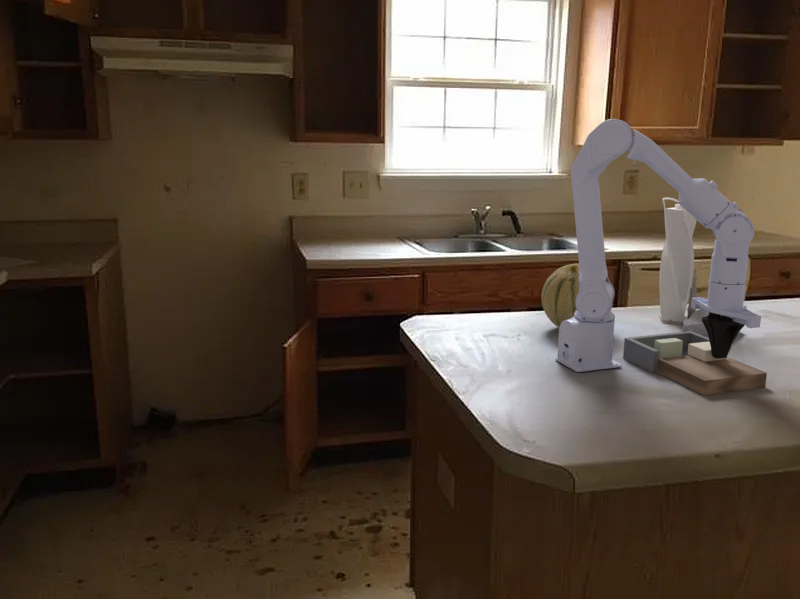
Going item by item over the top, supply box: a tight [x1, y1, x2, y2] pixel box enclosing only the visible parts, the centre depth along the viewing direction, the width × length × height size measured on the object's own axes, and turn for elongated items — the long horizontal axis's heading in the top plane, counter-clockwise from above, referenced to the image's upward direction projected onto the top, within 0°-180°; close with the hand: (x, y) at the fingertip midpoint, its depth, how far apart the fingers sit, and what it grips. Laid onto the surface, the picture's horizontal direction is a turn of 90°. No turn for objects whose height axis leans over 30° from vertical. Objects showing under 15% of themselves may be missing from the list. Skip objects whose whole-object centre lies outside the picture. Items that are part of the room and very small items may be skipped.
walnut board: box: [657, 355, 768, 396], centre depth 125 cm, size 12×12×2 cm
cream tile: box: [688, 342, 726, 361], centre depth 130 cm, size 4×4×2 cm
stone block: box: [681, 309, 709, 338], centre depth 153 cm, size 12×5×10 cm
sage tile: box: [654, 338, 683, 359], centre depth 132 cm, size 4×4×2 cm
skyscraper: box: [658, 196, 698, 325], centre depth 162 cm, size 8×8×28 cm
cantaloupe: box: [541, 263, 580, 328], centre depth 155 cm, size 15×15×15 cm
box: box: [622, 331, 710, 374], centre depth 135 cm, size 15×9×4 cm, turn 108°
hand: (719, 357), depth 127 cm, fingers closed
